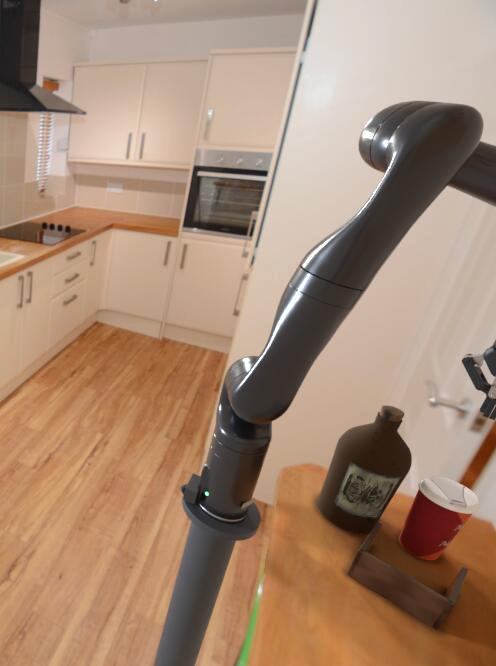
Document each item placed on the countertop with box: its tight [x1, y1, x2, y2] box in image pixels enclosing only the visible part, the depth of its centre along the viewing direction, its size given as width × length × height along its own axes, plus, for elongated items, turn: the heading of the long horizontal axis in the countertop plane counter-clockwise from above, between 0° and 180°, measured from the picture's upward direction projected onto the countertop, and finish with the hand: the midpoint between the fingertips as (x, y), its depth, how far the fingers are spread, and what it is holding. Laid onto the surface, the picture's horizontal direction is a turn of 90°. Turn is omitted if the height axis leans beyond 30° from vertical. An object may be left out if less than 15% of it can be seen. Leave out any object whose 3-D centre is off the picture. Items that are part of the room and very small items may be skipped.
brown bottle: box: [316, 405, 413, 533], centre depth 85 cm, size 11×11×25 cm
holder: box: [346, 521, 469, 631], centre depth 76 cm, size 12×10×6 cm
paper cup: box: [398, 475, 480, 561], centre depth 81 cm, size 8×8×14 cm
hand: (489, 416), depth 78 cm, fingers closed
